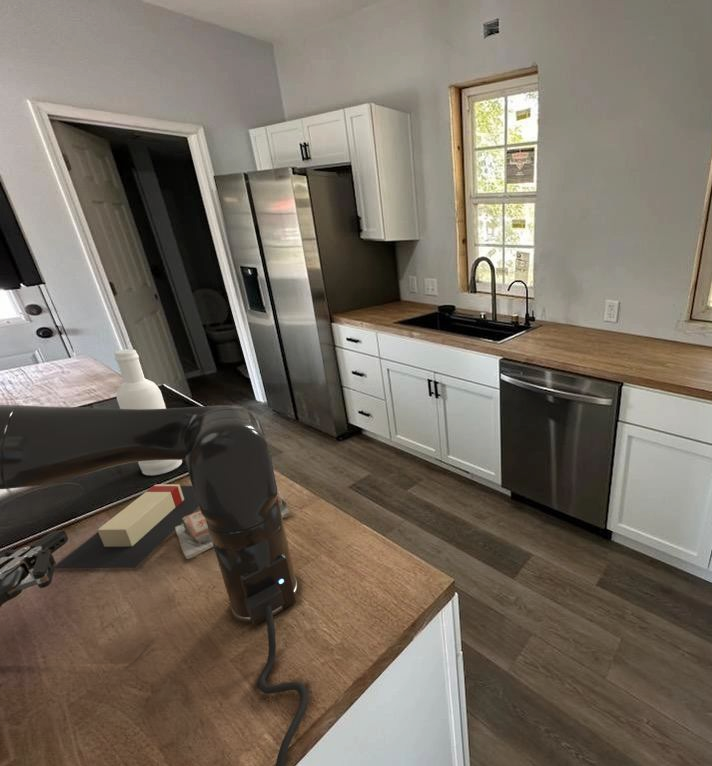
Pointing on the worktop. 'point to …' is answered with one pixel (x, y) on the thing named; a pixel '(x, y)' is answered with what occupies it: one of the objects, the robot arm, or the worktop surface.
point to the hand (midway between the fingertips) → (61, 534)
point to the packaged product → (204, 531)
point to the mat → (132, 556)
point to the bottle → (141, 401)
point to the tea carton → (141, 515)
